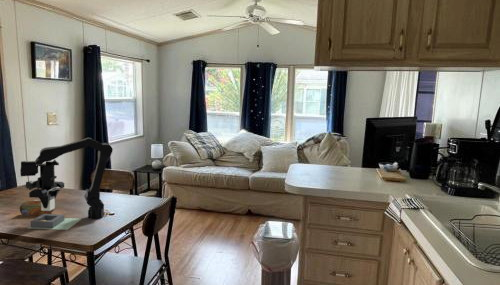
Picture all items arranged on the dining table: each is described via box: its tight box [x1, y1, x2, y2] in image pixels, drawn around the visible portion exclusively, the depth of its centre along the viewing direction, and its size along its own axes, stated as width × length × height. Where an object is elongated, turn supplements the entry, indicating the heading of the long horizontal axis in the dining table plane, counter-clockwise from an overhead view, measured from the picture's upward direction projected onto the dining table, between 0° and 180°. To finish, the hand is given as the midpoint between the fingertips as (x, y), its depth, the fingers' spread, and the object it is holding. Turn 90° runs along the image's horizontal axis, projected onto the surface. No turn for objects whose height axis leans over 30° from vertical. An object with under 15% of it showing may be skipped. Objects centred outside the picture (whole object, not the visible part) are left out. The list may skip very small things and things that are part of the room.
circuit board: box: [27, 217, 82, 231], centre depth 153 cm, size 18×14×1 cm
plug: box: [41, 196, 56, 211], centre depth 150 cm, size 4×4×6 cm
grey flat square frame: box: [30, 213, 65, 229], centre depth 151 cm, size 10×10×3 cm
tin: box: [19, 199, 55, 217], centre depth 162 cm, size 15×3×8 cm, turn 105°
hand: (48, 206), depth 150 cm, fingers closed on plug, 4 cm apart
